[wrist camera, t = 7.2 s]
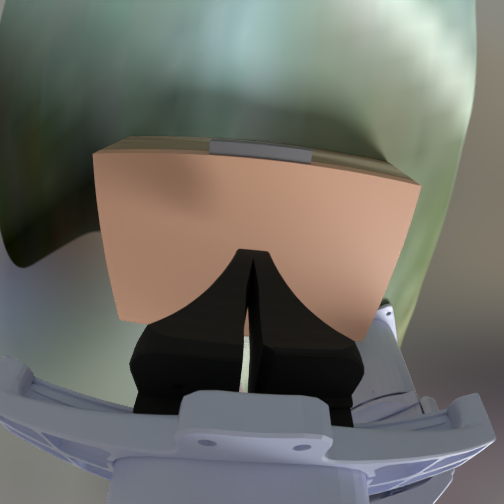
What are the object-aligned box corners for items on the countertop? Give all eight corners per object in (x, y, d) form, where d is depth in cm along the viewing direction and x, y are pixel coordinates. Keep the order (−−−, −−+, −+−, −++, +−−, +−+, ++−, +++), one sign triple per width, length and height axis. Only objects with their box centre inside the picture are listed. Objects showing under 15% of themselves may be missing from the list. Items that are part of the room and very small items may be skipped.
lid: (358, 335, 21) (361, 345, 20) (125, 315, 21) (120, 324, 20) (416, 169, 15) (424, 174, 14) (100, 137, 14) (92, 141, 13)
